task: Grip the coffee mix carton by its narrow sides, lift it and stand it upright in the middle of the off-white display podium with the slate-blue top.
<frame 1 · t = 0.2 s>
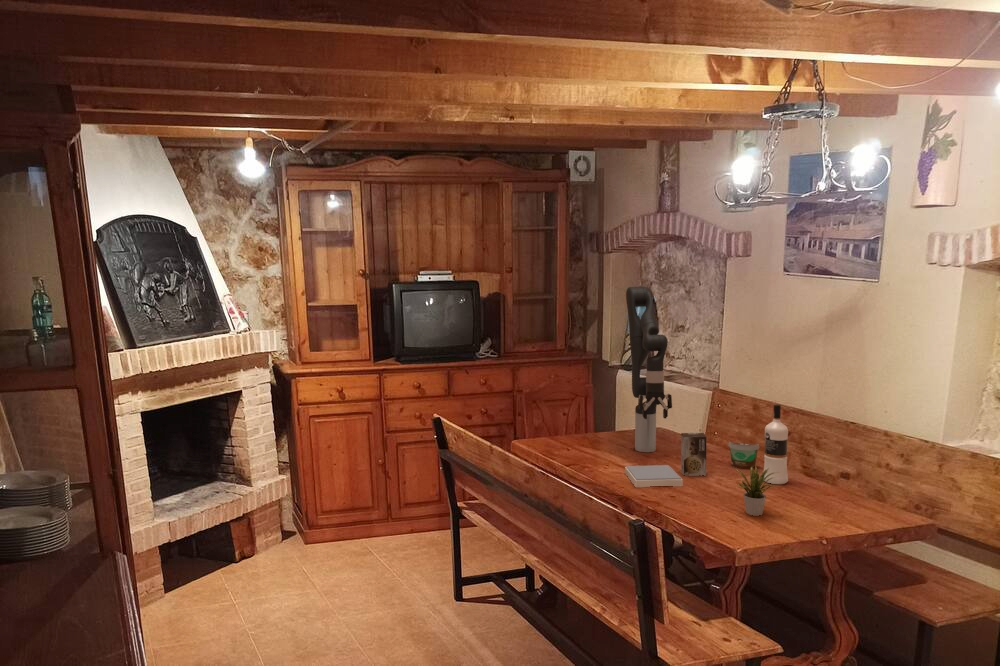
hand: (655, 418, 300), 18 cm above the table, tool pointing down, fingers open, 8 cm apart
podium: (652, 479, 273), on the table
house plant: (758, 514, 234), on the table
coffee box: (693, 474, 280), on the table
food container: (742, 467, 288), on the table
vodka: (775, 481, 269), on the table
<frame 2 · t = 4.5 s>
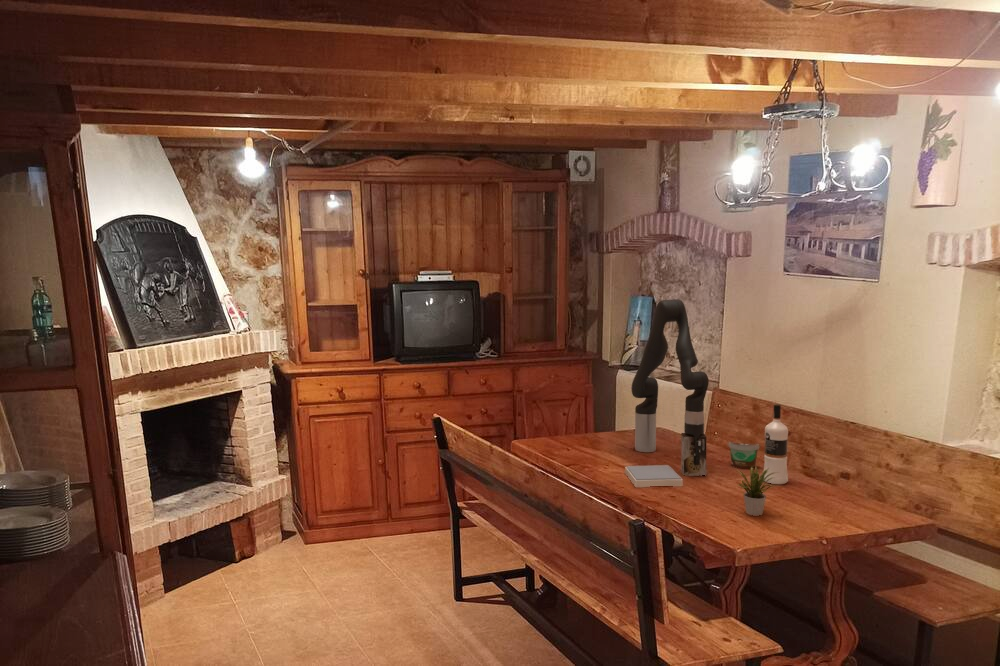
hand: (693, 462, 279), 5 cm above the table, tool pointing down, fingers closed on coffee box, 7 cm apart
coffee box: (693, 474, 280), on the table, touching gripper
everything else where it was.
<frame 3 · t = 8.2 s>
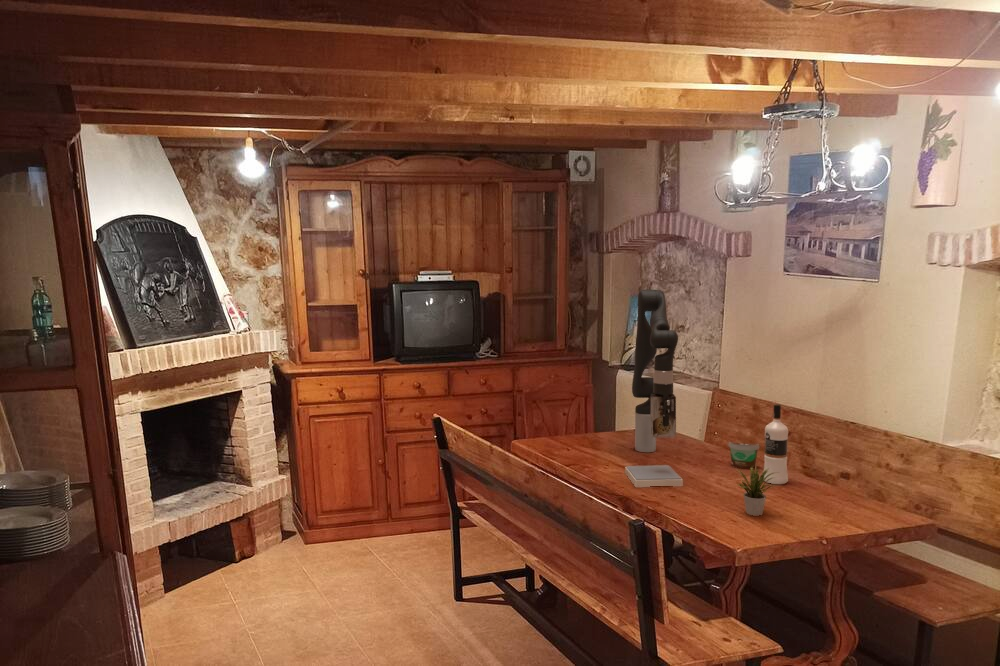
hand: (662, 423, 272), 22 cm above the table, tool pointing down, fingers closed on coffee box, 7 cm apart
coffee box: (662, 436, 272), point 17 cm above the table, touching gripper
everything else where it was.
when the fingers open (9 cm above the table, at t = 11.9 s): coffee box drops 1 cm, resting on podium.
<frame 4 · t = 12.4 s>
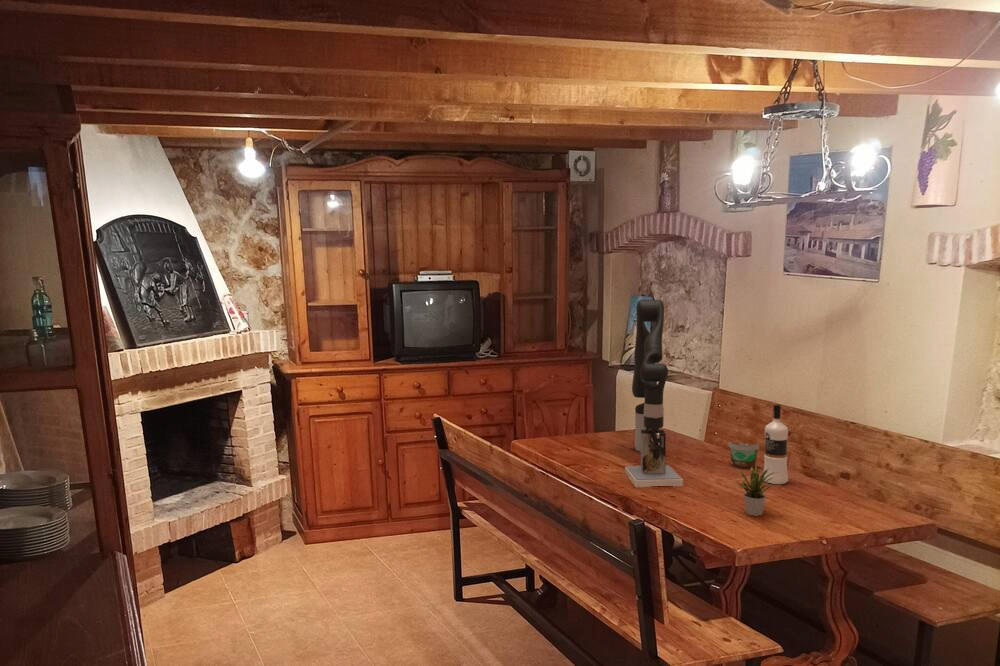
hand: (653, 455, 272), 10 cm above the table, tool pointing down, fingers open, 8 cm apart
coffee box: (652, 472, 273), point 3 cm above the table, touching podium
everything else where it was.
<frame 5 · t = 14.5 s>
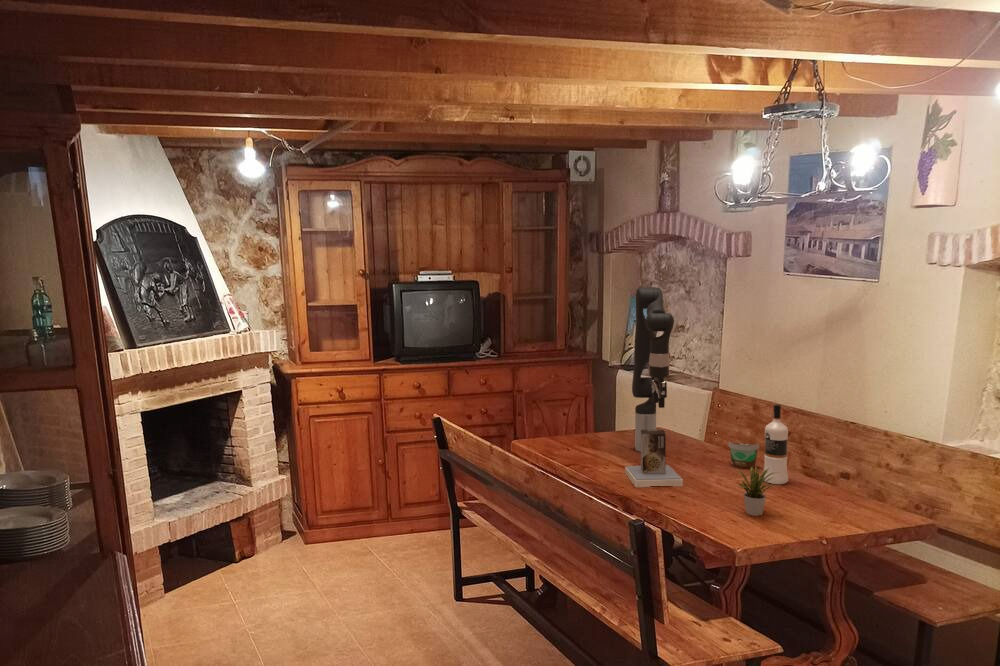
hand: (658, 405, 273), 29 cm above the table, tool pointing down, fingers open, 8 cm apart
nothing on the table moved.
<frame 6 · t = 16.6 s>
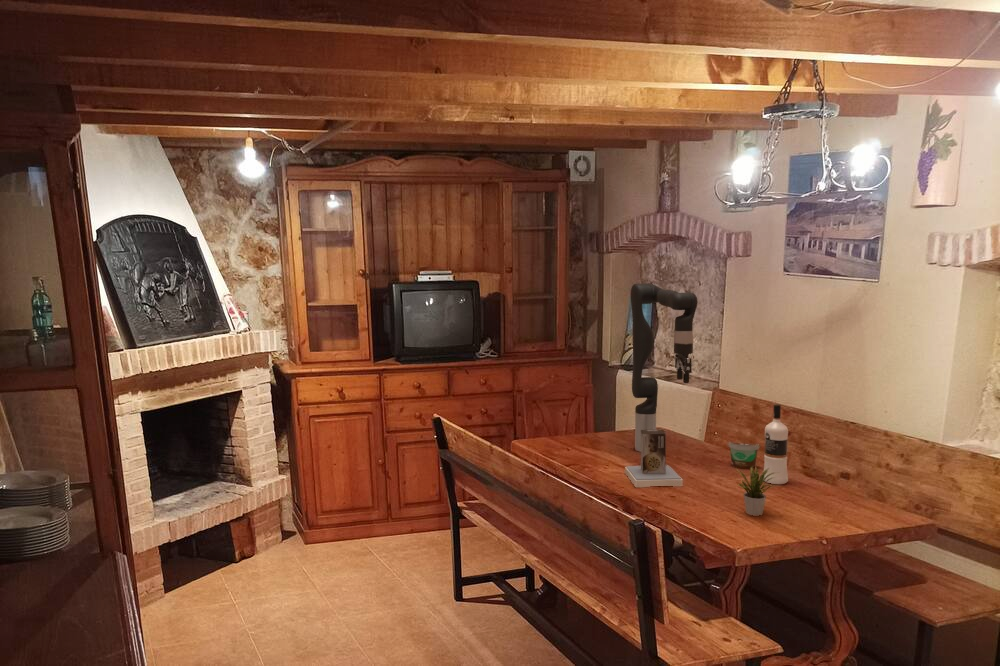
hand: (682, 381, 285), 36 cm above the table, tool pointing down, fingers open, 8 cm apart
nothing on the table moved.
at the end: coffee box inside the target area on the podium (0.2 cm from its centre), point 2.9 cm above the podium's base; coffee box tilted 0°; coffee box touching podium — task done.
